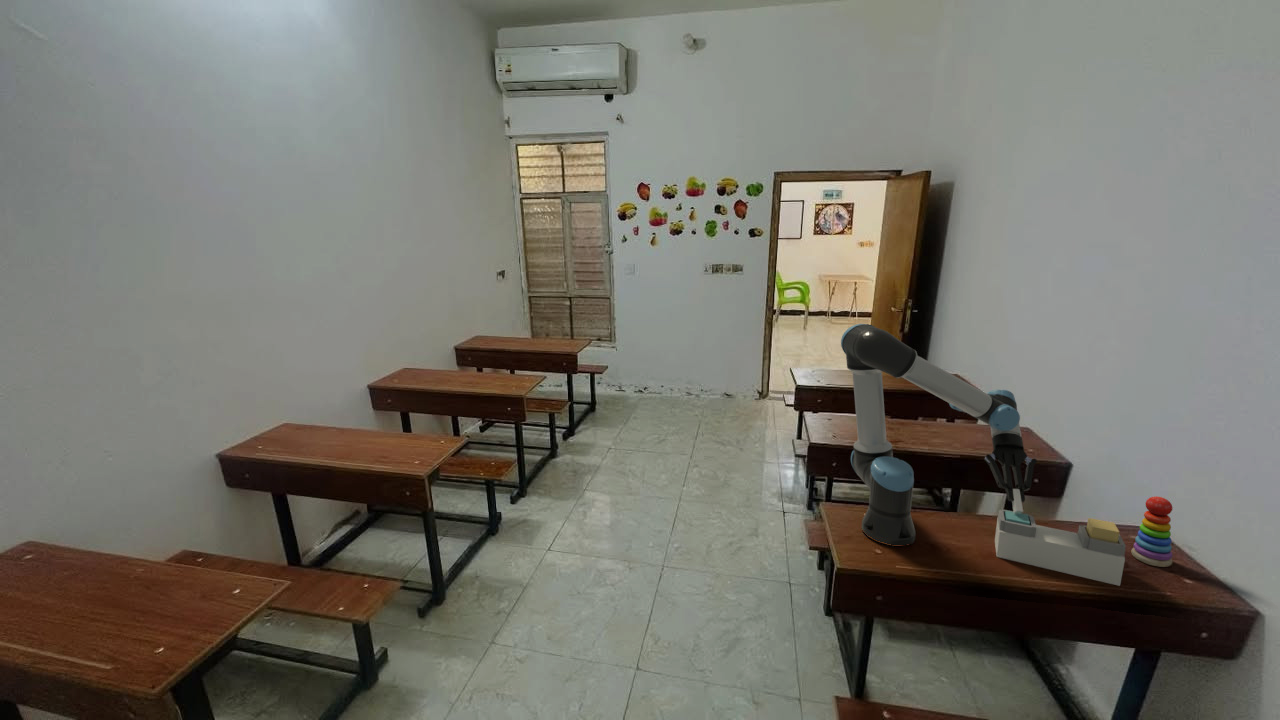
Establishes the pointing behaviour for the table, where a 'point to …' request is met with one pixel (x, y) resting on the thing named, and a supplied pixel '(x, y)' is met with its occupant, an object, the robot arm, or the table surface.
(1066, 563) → the button console
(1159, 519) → the stacking toy
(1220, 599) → the table surface
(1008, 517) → the teal button
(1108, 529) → the mustard button
